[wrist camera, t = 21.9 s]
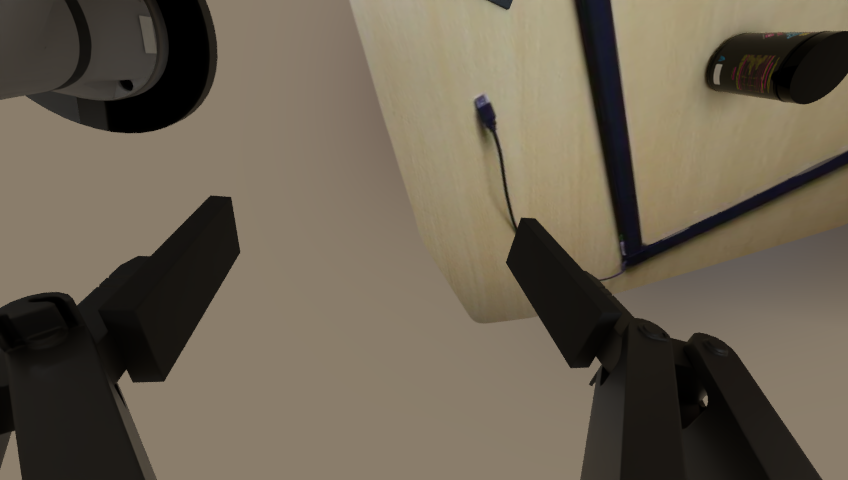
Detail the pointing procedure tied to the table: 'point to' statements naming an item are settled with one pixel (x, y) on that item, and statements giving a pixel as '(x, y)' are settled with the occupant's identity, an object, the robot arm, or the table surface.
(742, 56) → the supplement container
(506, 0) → the mat
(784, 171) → the table surface
